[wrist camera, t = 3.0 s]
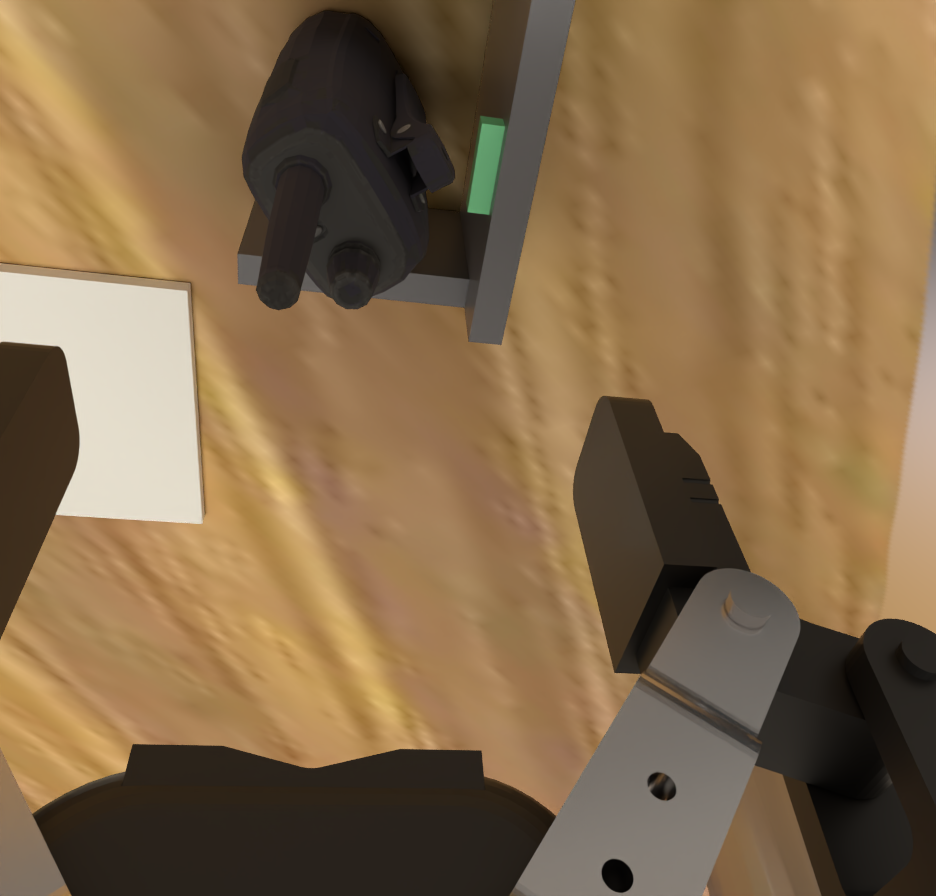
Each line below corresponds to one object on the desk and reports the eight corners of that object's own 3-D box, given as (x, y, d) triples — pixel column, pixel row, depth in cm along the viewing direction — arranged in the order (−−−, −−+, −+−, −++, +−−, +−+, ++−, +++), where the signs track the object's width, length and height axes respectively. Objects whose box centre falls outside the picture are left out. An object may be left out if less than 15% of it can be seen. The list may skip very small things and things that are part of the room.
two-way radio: (261, 30, 25) (147, 254, 14) (388, -45, 24) (380, 130, 13) (355, 186, 28) (327, 472, 17) (470, 126, 27) (523, 387, 16)
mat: (190, 283, 30) (187, 291, 30) (204, 514, 38) (202, 523, 37) (-231, 238, 28) (-241, 246, 28) (-128, 493, 36) (-135, 502, 35)
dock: (540, -77, 24) (581, -31, 18) (483, 241, 30) (501, 344, 25) (258, -128, 23) (215, -94, 17) (259, 214, 29) (227, 317, 24)
